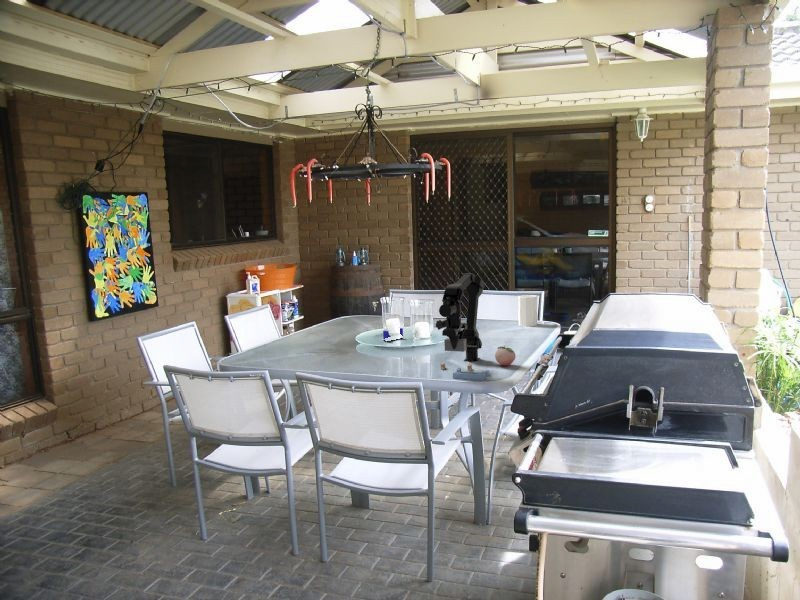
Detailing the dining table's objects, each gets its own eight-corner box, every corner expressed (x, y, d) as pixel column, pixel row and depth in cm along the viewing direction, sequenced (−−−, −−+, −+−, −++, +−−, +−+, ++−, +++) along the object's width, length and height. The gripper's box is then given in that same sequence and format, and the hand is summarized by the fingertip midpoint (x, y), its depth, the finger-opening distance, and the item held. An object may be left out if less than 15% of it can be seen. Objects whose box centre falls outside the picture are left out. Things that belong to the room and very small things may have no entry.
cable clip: (398, 337, 362) (397, 327, 361) (403, 338, 358) (402, 328, 358) (381, 340, 354) (381, 330, 354) (386, 341, 351) (386, 331, 350)
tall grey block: (447, 348, 283) (447, 338, 283) (466, 349, 280) (466, 338, 279) (444, 350, 280) (444, 339, 279) (464, 351, 276) (463, 340, 276)
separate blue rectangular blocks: (458, 373, 274) (458, 368, 274) (489, 375, 269) (489, 369, 268) (452, 378, 266) (452, 372, 266) (484, 380, 261) (484, 374, 261)
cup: (538, 324, 383) (538, 295, 380) (535, 328, 372) (535, 297, 370) (520, 324, 387) (519, 294, 384) (517, 327, 376) (516, 297, 374)
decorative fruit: (491, 367, 283) (490, 345, 282) (501, 363, 289) (500, 342, 288) (509, 370, 277) (508, 348, 275) (518, 366, 283) (518, 344, 281)
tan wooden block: (442, 368, 285) (442, 362, 285) (471, 369, 280) (471, 364, 280) (440, 369, 282) (440, 364, 282) (470, 371, 277) (469, 365, 277)
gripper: (443, 310, 289) (444, 343, 291) (430, 316, 272) (431, 351, 274) (467, 310, 285) (467, 344, 287) (454, 317, 268) (455, 352, 270)
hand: (455, 347), depth 280 cm, fingers closed on tall grey block, 4 cm apart
